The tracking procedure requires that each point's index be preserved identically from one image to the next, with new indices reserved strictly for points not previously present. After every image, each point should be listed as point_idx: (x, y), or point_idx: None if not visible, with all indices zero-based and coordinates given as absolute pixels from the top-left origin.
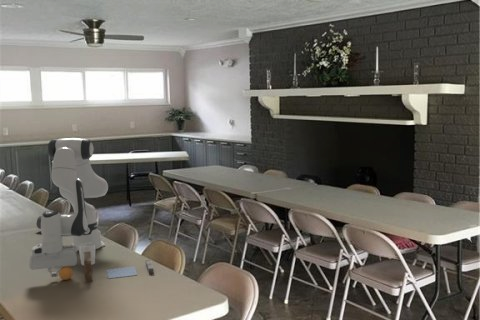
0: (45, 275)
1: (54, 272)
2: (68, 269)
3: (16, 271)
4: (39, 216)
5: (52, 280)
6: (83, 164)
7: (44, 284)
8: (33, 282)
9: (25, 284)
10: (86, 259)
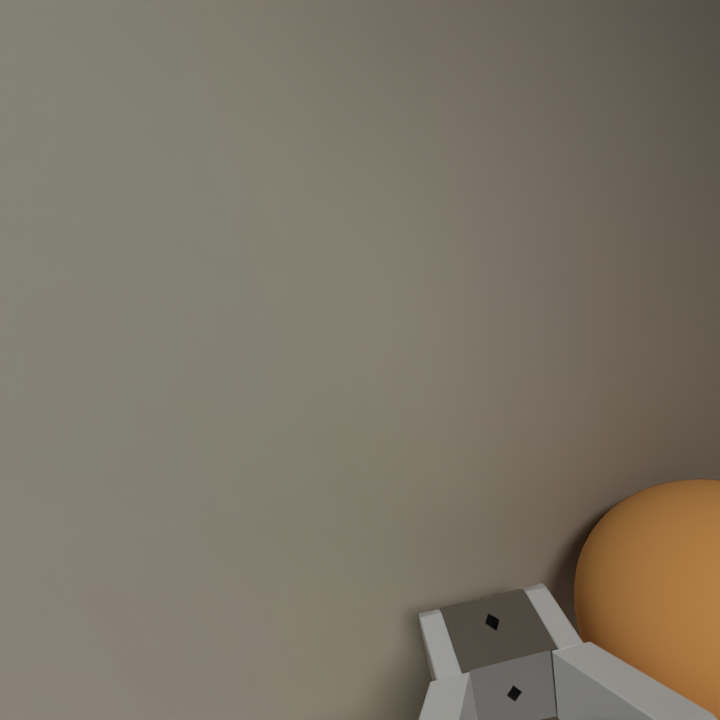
0: (183, 265)
1: (515, 675)
2: None
3: None
4: None
5: (416, 553)
6: None
7: (336, 696)
8: (110, 619)
9: (10, 691)
10: None
